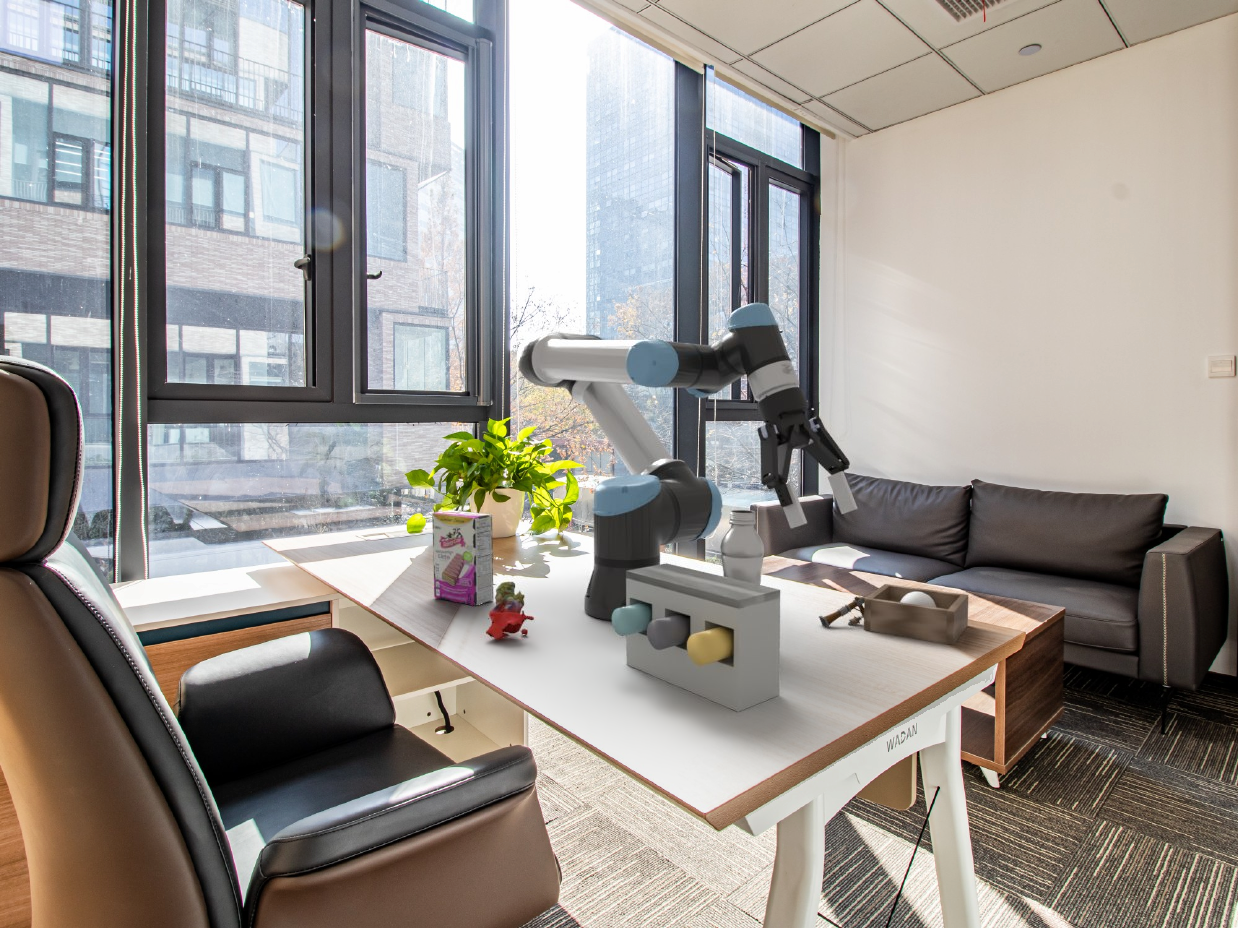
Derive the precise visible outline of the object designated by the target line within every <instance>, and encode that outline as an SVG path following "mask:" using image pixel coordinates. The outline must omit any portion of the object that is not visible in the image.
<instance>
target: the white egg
mask: <svg viewBox="0 0 1238 928" xmlns="http://www.w3.org/2000/svg"><path fill="white" fill-rule="evenodd" d="M900 602H901V603H908V604H915V605H922V606H929V607H936V605H935V603H934V601H933V599H932V598H931V597H930V596H929V595H927V594H925V593H923V592H911V593H908V594H906V595H905V596H904V597H903V598H902V600H901V601H900Z"/></svg>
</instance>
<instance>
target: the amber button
mask: <svg viewBox="0 0 1238 928" xmlns="http://www.w3.org/2000/svg"><path fill="white" fill-rule="evenodd" d="M687 651H688V654H689V657H690V658H691V660H692V661H693V662H694V663H695V664H696V665H699V666H703V665H706V664H709V663H712V662H715V661H718V660H721V659H725V658H728V657H731V656H734V630H733V629H732V628H729V627H725V626H721V627H717V628H713V629H710V630H706V631H703V632H699V633H696V634H693V635H691V636H690V637H689V639H688V641H687Z"/></svg>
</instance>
